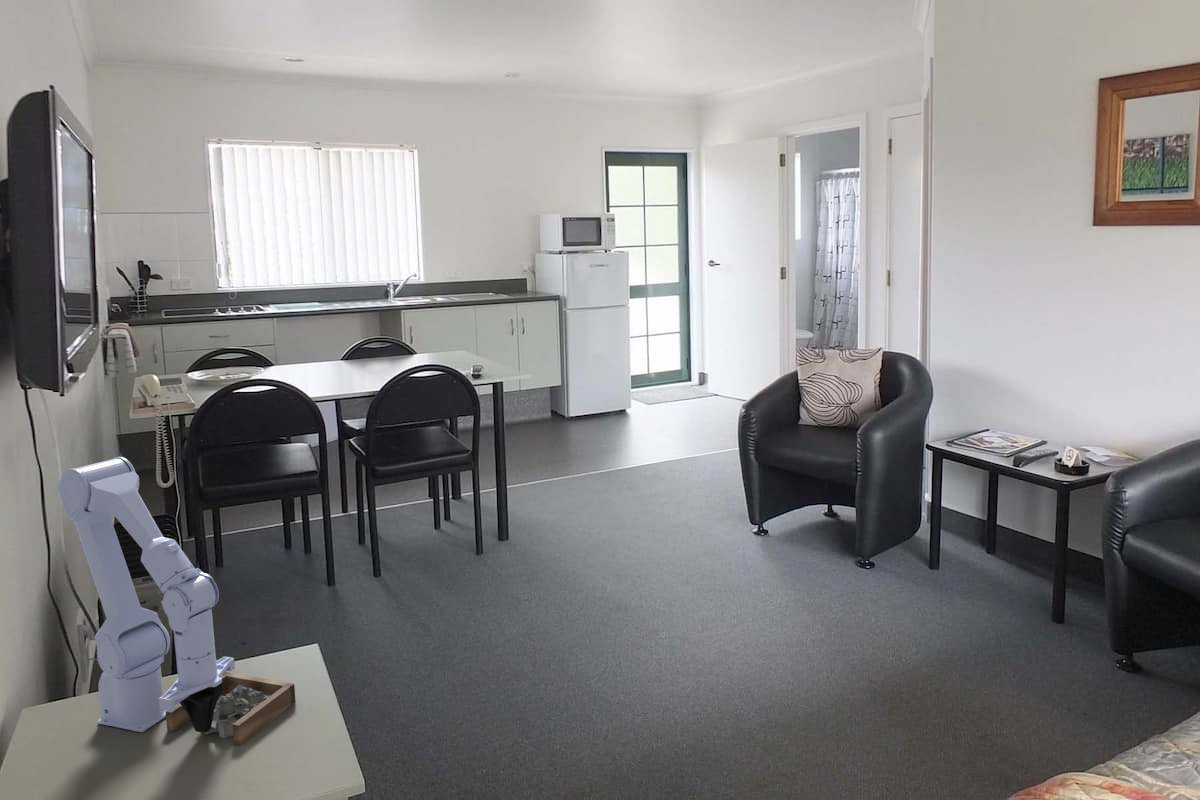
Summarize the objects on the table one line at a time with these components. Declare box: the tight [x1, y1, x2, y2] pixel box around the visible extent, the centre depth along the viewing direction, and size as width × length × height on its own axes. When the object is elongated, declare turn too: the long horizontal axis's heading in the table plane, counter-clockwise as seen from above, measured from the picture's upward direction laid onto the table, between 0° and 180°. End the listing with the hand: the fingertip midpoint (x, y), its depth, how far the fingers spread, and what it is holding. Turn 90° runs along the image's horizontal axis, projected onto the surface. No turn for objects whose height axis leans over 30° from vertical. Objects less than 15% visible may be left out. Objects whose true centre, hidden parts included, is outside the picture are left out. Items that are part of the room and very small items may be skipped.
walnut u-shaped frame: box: [165, 671, 296, 746], centre depth 155 cm, size 14×14×4 cm
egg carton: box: [204, 684, 270, 739], centre depth 153 cm, size 11×8×4 cm
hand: (202, 730), depth 148 cm, fingers closed
